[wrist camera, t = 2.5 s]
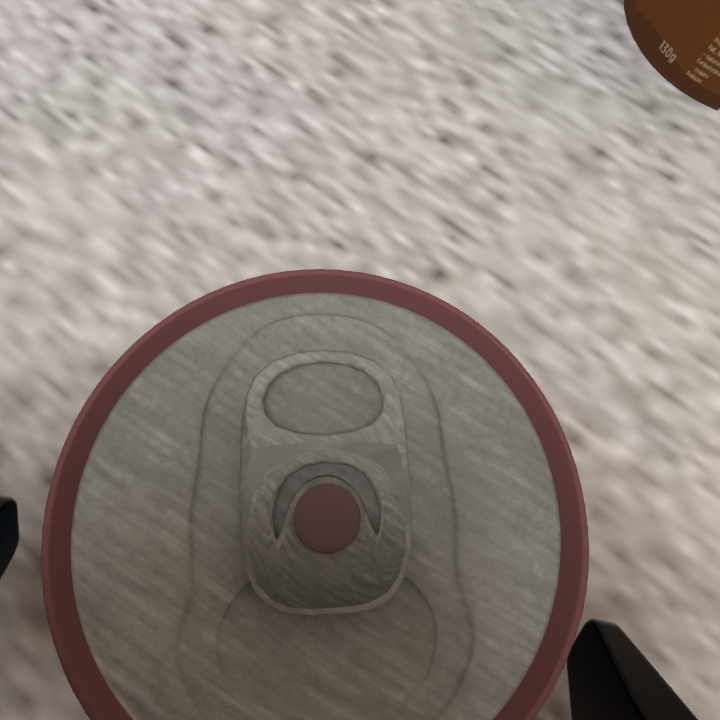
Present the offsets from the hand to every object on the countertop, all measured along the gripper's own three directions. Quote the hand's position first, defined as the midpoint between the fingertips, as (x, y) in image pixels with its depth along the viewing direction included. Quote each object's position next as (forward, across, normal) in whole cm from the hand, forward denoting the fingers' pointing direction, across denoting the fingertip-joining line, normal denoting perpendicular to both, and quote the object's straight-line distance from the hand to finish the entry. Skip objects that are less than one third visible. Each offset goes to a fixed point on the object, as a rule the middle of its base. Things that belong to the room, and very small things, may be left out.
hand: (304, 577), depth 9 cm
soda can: (+7, 0, +6) cm, 9 cm away
